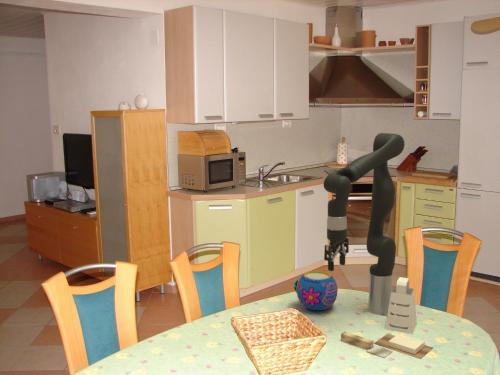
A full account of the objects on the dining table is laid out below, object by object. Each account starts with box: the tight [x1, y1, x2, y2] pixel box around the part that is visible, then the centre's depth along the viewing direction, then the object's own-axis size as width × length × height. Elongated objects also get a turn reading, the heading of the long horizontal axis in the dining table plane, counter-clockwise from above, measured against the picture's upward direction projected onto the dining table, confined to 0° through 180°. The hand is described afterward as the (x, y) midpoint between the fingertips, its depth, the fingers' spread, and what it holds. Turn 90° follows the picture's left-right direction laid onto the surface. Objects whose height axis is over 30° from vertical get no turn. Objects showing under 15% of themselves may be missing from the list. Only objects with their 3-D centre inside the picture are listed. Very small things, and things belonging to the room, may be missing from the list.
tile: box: [388, 333, 426, 355], centre depth 190 cm, size 8×2×10 cm
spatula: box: [340, 331, 394, 359], centre depth 190 cm, size 18×6×3 cm, turn 49°
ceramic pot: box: [293, 270, 339, 311], centre depth 227 cm, size 18×18×15 cm
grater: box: [384, 276, 418, 335], centre depth 206 cm, size 10×10×20 cm
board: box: [373, 333, 434, 360], centre depth 191 cm, size 11×18×1 cm, turn 49°
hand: (336, 267), depth 204 cm, fingers open, 8 cm apart
